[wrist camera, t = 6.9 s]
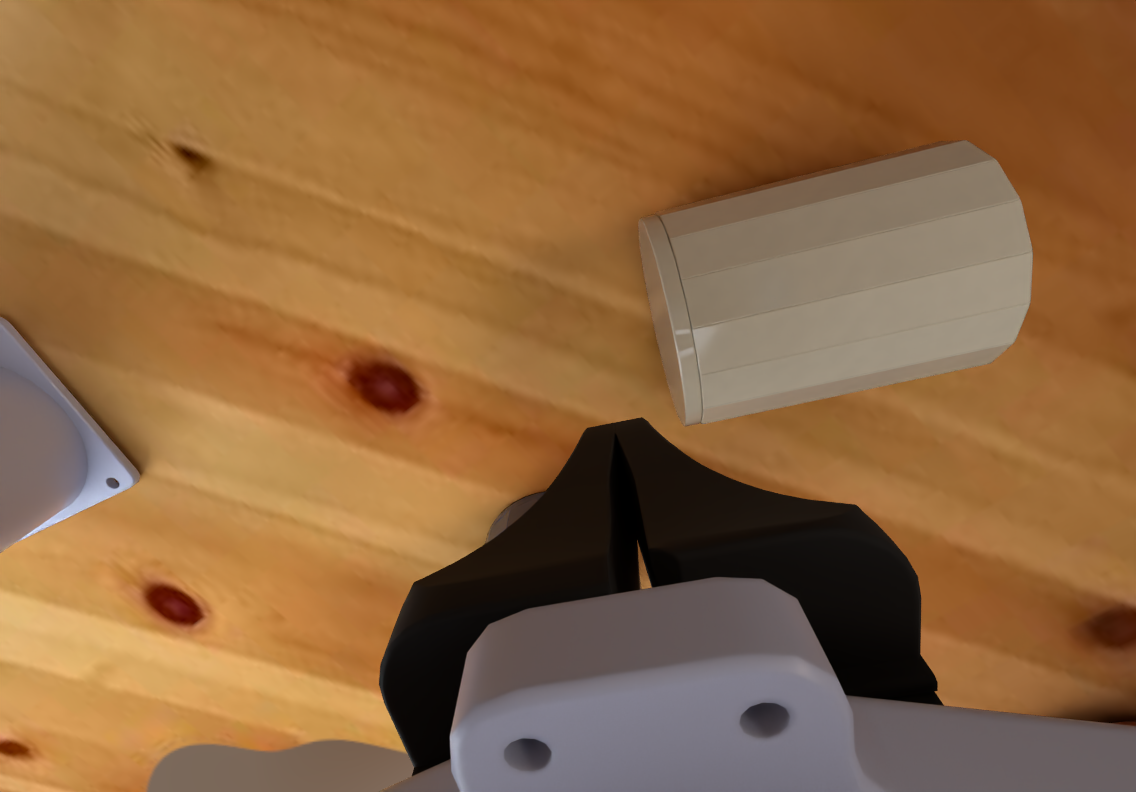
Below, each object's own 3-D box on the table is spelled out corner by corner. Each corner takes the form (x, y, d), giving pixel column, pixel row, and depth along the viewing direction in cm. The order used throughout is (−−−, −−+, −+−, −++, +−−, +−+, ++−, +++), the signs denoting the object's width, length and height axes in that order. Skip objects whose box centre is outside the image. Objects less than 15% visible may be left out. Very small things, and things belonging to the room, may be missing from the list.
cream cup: (693, 469, 19) (988, 409, 18) (672, 299, 14) (1070, 206, 13) (653, 338, 23) (884, 286, 23) (628, 180, 19) (917, 106, 18)
